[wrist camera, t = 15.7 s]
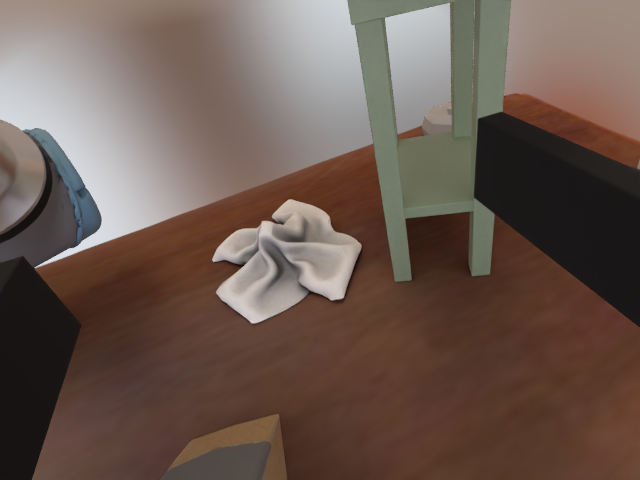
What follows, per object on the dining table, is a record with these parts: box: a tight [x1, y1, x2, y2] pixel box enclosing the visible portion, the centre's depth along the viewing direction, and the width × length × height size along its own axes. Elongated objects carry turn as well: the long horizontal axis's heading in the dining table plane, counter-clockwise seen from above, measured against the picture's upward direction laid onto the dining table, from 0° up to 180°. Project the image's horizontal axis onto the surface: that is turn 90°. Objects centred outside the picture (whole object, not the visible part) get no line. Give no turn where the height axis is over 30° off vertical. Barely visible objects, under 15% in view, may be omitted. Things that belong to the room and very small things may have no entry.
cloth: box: [212, 199, 362, 324], centre depth 48 cm, size 22×19×6 cm
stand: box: [348, 0, 511, 282], centre depth 37 cm, size 14×10×27 cm
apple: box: [422, 102, 472, 139], centre depth 57 cm, size 8×8×7 cm
